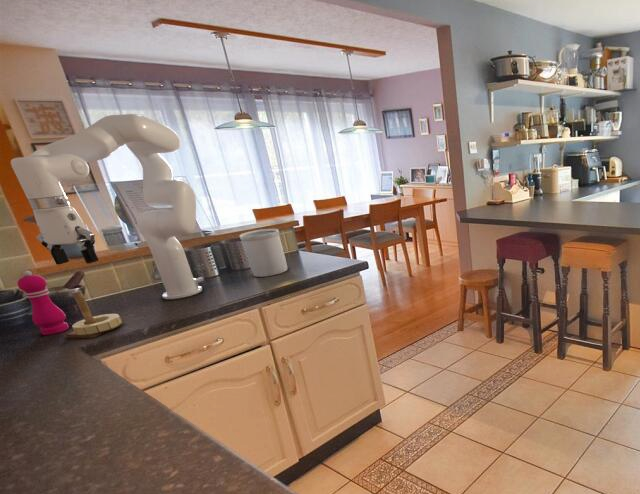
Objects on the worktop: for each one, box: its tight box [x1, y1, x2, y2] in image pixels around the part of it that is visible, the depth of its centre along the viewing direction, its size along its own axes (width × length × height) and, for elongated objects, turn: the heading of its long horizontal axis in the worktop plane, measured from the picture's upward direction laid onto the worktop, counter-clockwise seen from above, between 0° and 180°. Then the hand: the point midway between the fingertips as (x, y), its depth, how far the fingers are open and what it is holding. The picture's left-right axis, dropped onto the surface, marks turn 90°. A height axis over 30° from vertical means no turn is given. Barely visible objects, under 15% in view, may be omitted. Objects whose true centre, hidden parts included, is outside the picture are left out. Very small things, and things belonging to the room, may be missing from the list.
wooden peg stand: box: [65, 290, 122, 339], centre depth 133 cm, size 9×9×13 cm
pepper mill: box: [17, 270, 70, 336], centre depth 134 cm, size 7×7×20 cm
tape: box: [71, 313, 123, 335], centre depth 135 cm, size 11×11×2 cm
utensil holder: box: [238, 228, 288, 278], centre depth 186 cm, size 15×15×18 cm
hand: (77, 262), depth 127 cm, fingers open, 9 cm apart
